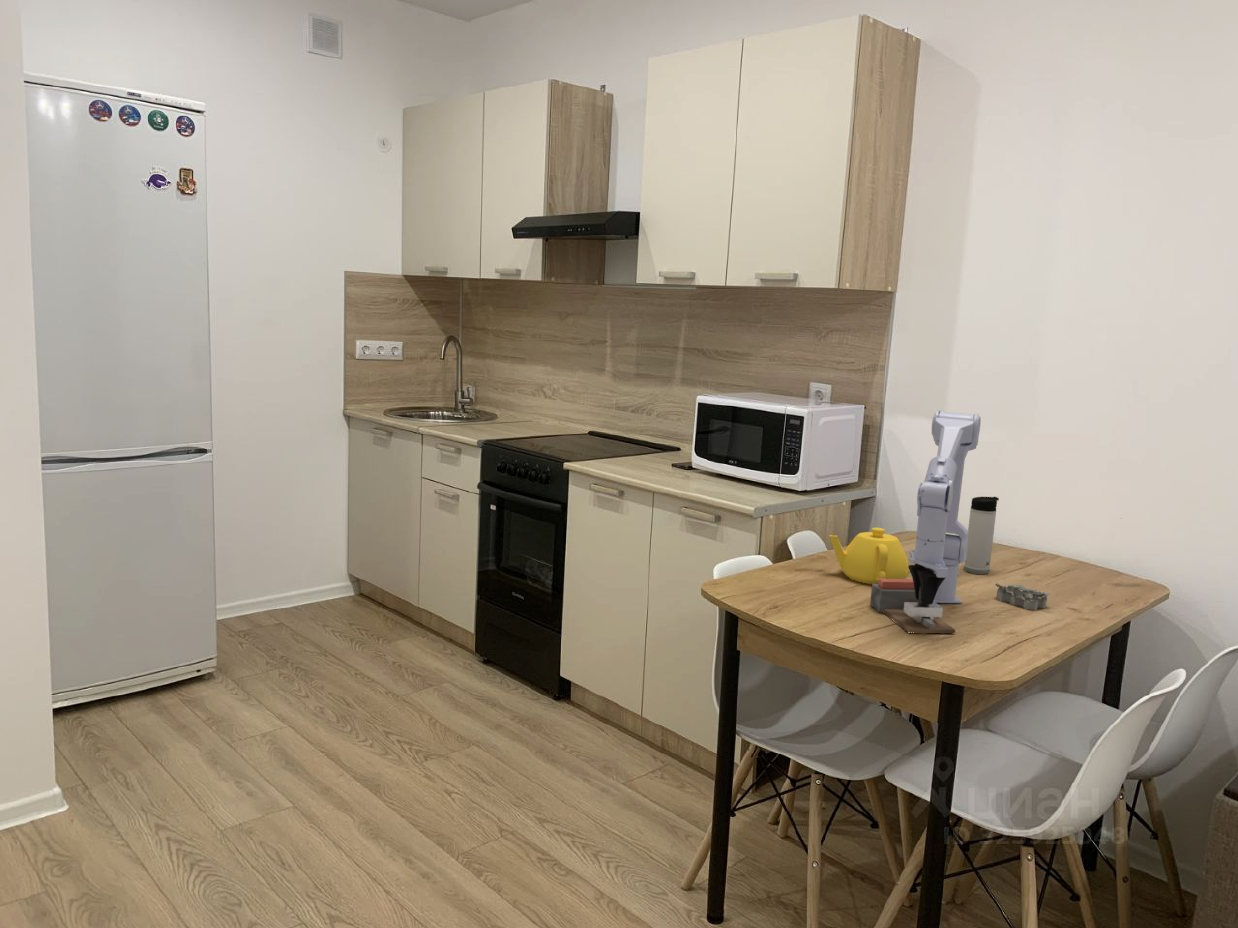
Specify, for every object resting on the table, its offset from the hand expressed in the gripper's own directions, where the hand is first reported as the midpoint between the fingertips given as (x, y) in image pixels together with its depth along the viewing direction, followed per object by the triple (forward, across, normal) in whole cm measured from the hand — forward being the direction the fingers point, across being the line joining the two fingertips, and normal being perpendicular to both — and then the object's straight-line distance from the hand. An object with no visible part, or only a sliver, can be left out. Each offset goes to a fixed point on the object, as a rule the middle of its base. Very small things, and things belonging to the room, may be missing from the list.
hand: (923, 601), depth 199 cm
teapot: (+6, -36, +2) cm, 37 cm away
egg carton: (+6, -18, +32) cm, 37 cm away
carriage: (+4, 0, 0) cm, 4 cm away
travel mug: (+6, -45, +35) cm, 57 cm away
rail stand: (+5, -4, 0) cm, 7 cm away
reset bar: (0, -12, 0) cm, 12 cm away
